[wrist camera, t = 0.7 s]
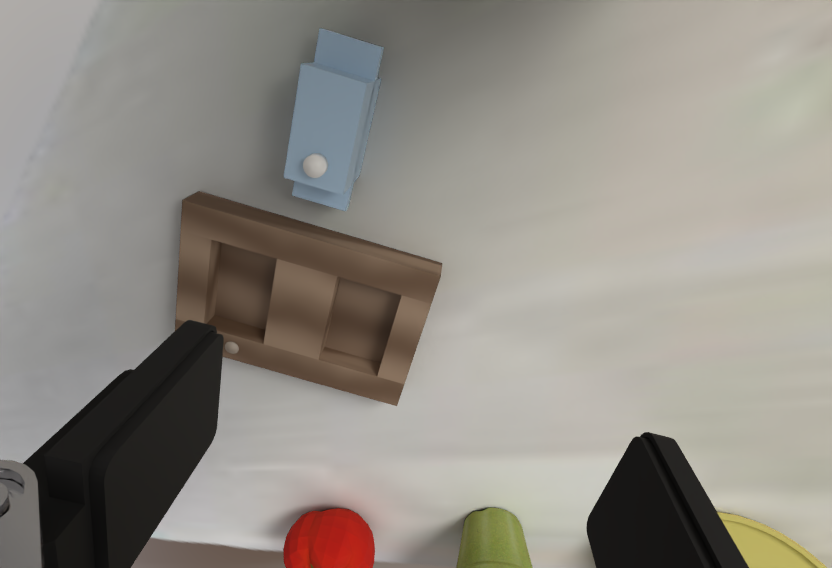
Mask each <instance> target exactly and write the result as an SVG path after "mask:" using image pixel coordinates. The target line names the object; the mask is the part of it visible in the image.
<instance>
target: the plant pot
mask: <svg viewBox="0 0 832 568" xmlns="http://www.w3.org/2000/svg"><path fill="white" fill-rule="evenodd" d="M457 568H532V564H531V560H530V557H529V553H528V549H527V546H526V542H525V538H524V534H523V530H522V526H521V524H520V522H519V521H518V519H517V518H516V516H515V515H513V514H512V513H510V512H508V511H506V510H503V509H499V508H487V509H485V510H483V511H474V512H473V513H471V514H470V515H469V516H468V517H467V518H466V520H465V522H464V526H463V532H462V538H461V545H460V551H459V556H458V562H457Z"/></svg>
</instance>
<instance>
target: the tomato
mask: <svg viewBox="0 0 832 568" xmlns="http://www.w3.org/2000/svg"><path fill="white" fill-rule="evenodd" d="M283 550H284V564H285V566H286V568H372V567H373V564H374V555H375V547H374V538H373V534H372V531H371V529H370V527H369V526H368V524H367V523H366V522H365V521H364V520H363V519H362V518H361V517H360V516H359V514H357V513H355V512H353V511H351V510H349V509H341V508H336V509H330V510H325V511H322V512H320V511H311V512H309V513H306V514H304V515H302V516H301V517H300V518H299V519H298V520H297V521H296V523H295V524H294V525H293V526H292V527H291V529H290V531H289V533H288V534H287V536H286V540H285V544H284V549H283Z"/></svg>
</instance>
